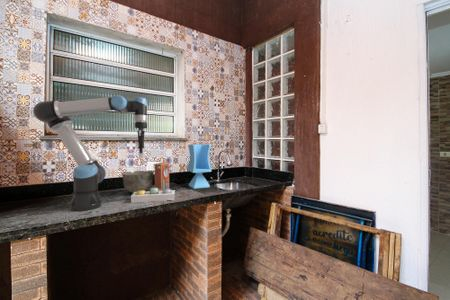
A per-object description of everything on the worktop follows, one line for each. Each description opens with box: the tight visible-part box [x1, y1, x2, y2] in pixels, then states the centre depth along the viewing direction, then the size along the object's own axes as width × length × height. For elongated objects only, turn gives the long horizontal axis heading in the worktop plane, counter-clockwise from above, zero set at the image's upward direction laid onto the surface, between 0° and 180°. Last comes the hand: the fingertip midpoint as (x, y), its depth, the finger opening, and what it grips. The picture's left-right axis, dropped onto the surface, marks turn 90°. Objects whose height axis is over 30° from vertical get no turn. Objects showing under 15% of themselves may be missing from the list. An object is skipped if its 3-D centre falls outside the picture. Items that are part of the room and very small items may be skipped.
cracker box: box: [154, 162, 170, 191], centre depth 166 cm, size 21×7×15 cm
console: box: [130, 189, 176, 204], centre depth 145 cm, size 26×12×4 cm, turn 103°
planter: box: [186, 144, 212, 190], centre depth 186 cm, size 16×16×35 cm
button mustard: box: [137, 190, 146, 195], centre depth 143 cm, size 5×5×3 cm
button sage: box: [149, 187, 158, 194], centre depth 145 cm, size 5×5×3 cm
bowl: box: [121, 170, 155, 194], centre depth 164 cm, size 22×22×15 cm
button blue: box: [163, 188, 172, 194], centre depth 147 cm, size 5×5×3 cm
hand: (141, 158), depth 146 cm, fingers closed
